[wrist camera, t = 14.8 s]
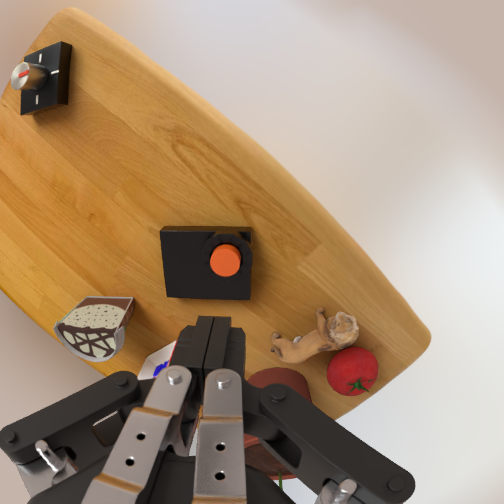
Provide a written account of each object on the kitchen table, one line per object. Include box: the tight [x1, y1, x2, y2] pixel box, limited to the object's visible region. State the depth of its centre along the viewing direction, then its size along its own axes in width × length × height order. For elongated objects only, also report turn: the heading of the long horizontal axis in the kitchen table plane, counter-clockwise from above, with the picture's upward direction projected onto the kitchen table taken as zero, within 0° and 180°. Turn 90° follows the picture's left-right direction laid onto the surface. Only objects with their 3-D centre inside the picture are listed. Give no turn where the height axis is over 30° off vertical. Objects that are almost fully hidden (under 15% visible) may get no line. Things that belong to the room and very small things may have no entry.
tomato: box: [327, 347, 378, 396], centre depth 44 cm, size 9×9×8 cm
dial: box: [11, 62, 48, 91], centre depth 27 cm, size 4×4×5 cm
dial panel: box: [21, 41, 72, 115], centre depth 30 cm, size 10×8×3 cm
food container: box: [53, 296, 134, 362], centre depth 41 cm, size 12×6×10 cm, turn 93°
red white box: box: [138, 340, 177, 380], centre depth 46 cm, size 8×8×8 cm
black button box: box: [160, 226, 253, 300], centre depth 40 cm, size 10×12×4 cm
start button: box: [210, 244, 241, 277], centre depth 37 cm, size 4×4×2 cm
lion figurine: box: [271, 307, 359, 364], centre depth 41 cm, size 15×5×9 cm, turn 133°
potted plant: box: [244, 368, 312, 490], centre depth 40 cm, size 18×22×25 cm
